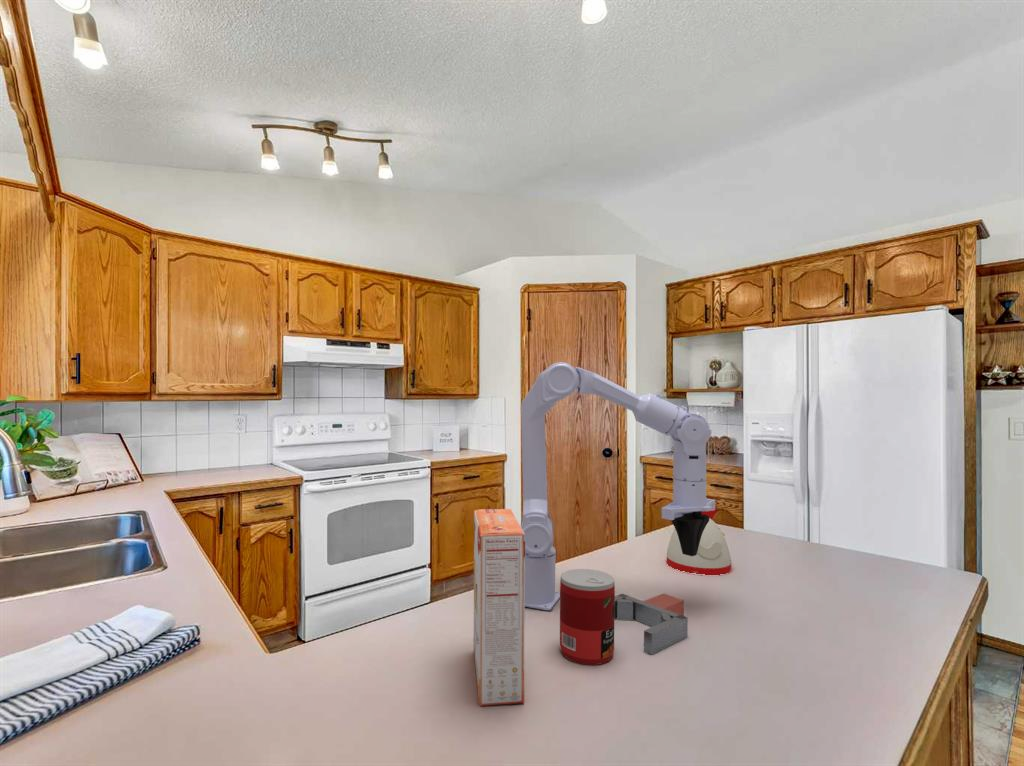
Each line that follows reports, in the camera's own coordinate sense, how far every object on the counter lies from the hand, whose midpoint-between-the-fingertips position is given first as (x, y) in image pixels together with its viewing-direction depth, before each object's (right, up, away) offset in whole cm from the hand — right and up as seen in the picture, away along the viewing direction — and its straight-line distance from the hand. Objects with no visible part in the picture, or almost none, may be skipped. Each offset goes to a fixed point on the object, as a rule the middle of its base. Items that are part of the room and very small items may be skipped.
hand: (689, 554), depth 93 cm
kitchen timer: (+10, -11, +24) cm, 28 cm away
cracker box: (-34, -8, -25) cm, 43 cm away
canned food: (-21, -9, -18) cm, 29 cm away
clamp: (-10, -9, -8) cm, 16 cm away
